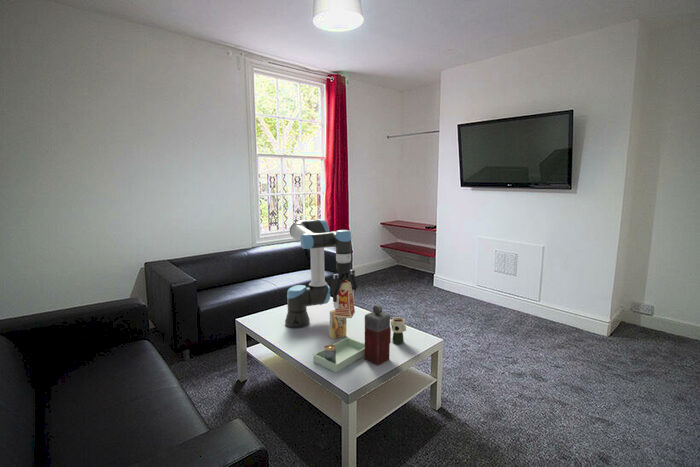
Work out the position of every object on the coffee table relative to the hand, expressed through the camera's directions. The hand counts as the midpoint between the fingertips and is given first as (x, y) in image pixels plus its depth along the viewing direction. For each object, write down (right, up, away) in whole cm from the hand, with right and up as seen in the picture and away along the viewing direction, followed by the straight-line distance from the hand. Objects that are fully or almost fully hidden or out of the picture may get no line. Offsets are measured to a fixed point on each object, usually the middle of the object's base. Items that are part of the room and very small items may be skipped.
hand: (344, 304), depth 172 cm
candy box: (-4, -23, +25) cm, 35 cm away
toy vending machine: (+17, -27, 0) cm, 32 cm away
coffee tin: (-7, -27, -5) cm, 28 cm away
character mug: (+29, -24, +18) cm, 42 cm away
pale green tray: (-1, -27, +1) cm, 27 cm away
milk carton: (0, -5, +1) cm, 5 cm away
